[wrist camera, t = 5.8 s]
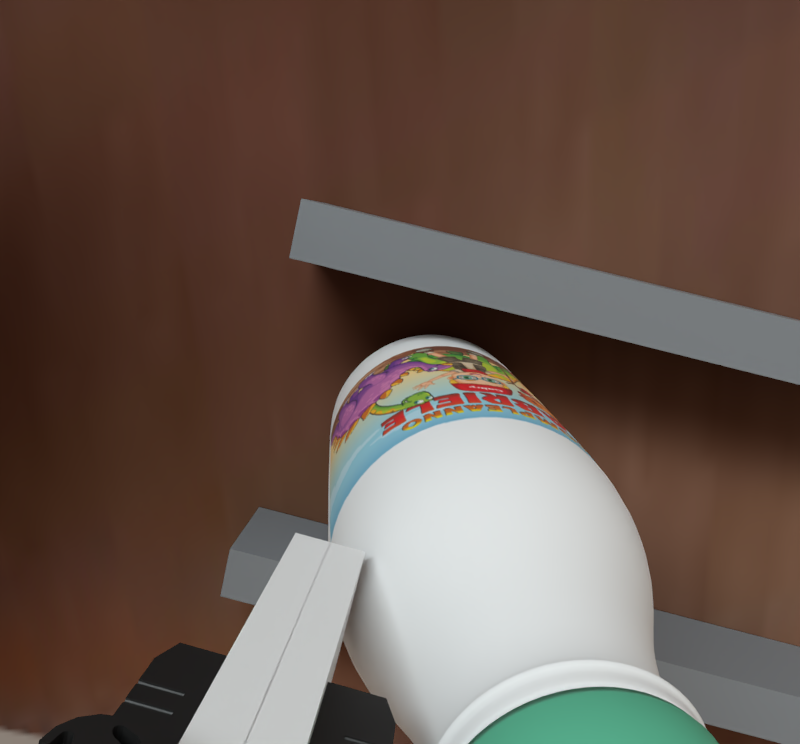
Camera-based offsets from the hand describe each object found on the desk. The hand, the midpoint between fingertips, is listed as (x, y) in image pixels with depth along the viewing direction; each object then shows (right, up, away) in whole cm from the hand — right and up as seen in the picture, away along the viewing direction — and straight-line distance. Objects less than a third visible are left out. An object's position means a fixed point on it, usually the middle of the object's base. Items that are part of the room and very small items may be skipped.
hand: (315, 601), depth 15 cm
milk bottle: (+3, +3, +14) cm, 14 cm away
